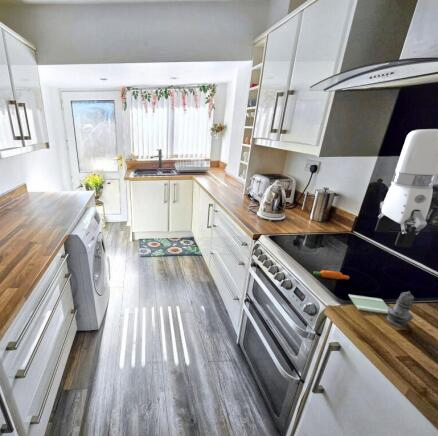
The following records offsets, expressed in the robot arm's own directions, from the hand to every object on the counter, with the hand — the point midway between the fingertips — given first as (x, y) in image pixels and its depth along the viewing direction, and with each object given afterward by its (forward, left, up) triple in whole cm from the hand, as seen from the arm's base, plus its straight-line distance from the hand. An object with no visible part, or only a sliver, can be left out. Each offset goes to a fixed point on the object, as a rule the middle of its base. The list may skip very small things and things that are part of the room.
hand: (391, 238), depth 68 cm
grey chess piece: (-10, -2, -30) cm, 32 cm away
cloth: (-6, -9, -30) cm, 32 cm away
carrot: (+1, -24, -30) cm, 38 cm away
